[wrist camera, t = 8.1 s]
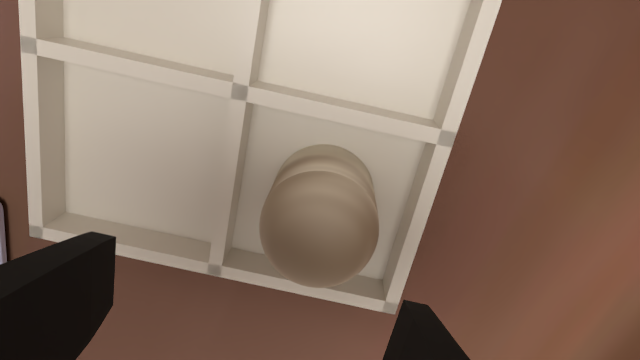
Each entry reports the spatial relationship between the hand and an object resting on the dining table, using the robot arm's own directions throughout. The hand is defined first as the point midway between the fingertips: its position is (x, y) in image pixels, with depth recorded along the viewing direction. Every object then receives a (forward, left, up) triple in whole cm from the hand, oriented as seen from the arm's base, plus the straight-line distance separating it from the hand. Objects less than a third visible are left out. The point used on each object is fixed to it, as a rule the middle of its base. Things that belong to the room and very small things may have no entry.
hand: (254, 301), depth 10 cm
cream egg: (0, -1, -9) cm, 9 cm away
